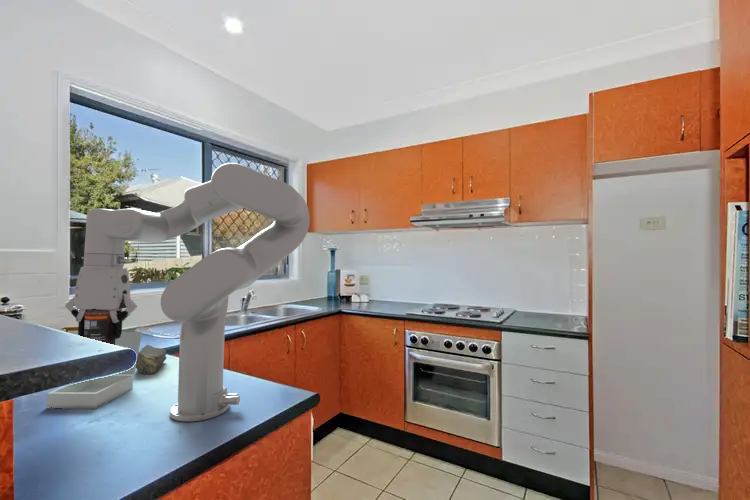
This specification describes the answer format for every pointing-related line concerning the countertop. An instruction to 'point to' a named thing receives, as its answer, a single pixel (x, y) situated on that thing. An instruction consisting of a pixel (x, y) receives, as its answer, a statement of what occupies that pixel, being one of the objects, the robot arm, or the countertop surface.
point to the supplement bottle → (98, 325)
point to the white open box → (97, 384)
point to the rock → (150, 359)
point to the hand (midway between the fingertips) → (99, 337)
